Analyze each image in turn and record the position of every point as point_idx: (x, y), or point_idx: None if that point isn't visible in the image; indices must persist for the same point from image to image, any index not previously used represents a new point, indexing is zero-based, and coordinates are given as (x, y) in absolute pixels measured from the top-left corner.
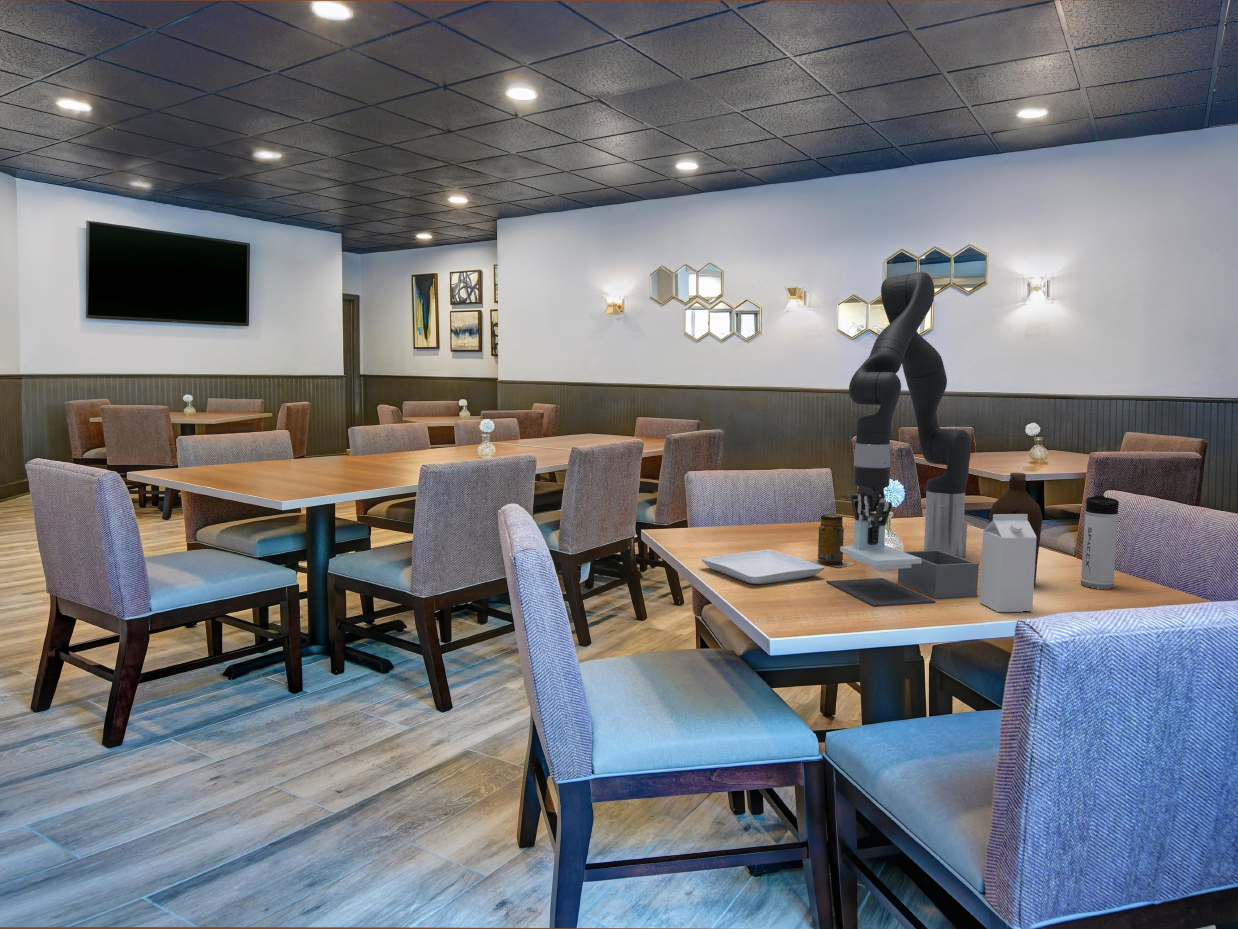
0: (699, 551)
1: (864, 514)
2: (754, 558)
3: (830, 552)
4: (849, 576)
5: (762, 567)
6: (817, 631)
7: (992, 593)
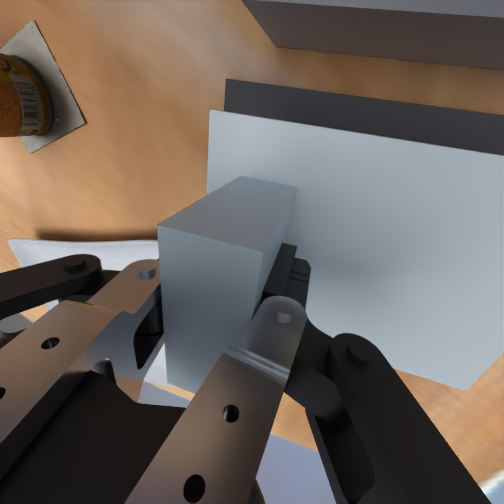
0: None
1: (137, 375)
2: None
3: (15, 119)
4: (171, 157)
5: None
6: (478, 469)
7: None
